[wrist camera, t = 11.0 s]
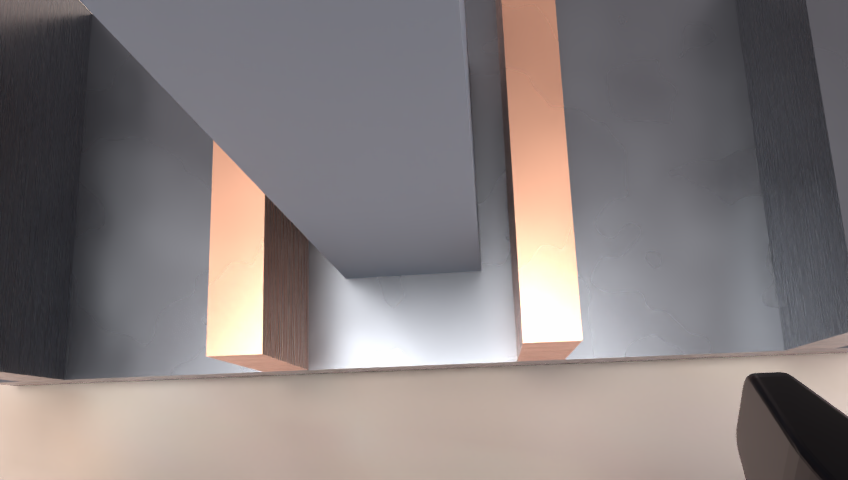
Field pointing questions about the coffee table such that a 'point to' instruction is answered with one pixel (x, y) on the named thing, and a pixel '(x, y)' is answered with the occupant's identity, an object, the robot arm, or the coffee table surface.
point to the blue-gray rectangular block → (330, 116)
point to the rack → (496, 200)
